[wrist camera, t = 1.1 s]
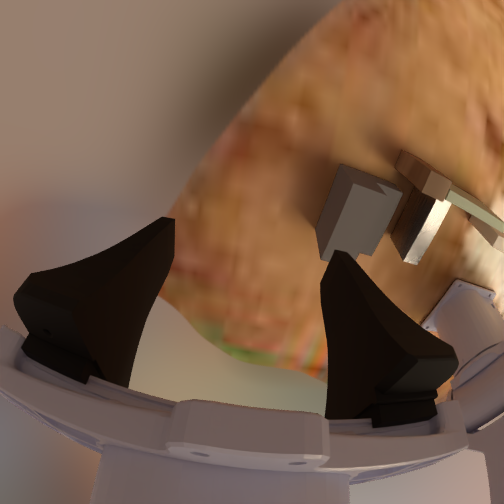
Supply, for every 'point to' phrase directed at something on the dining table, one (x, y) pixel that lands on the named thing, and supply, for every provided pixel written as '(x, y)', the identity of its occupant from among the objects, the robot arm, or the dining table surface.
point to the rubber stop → (355, 213)
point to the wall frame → (441, 192)
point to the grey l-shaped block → (433, 220)
